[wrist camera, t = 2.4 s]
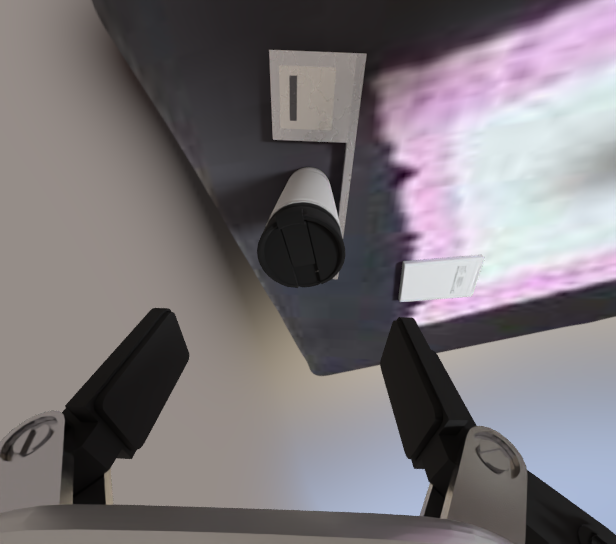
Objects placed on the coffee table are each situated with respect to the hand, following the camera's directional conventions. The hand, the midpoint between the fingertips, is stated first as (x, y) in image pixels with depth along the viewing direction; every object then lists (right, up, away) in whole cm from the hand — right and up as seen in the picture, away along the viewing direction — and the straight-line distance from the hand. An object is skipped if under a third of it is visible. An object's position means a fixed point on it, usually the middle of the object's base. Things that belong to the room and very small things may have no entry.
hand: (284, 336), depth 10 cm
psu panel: (+1, +14, +22) cm, 27 cm away
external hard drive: (+23, +2, +30) cm, 38 cm away
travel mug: (+1, +15, +22) cm, 27 cm away
